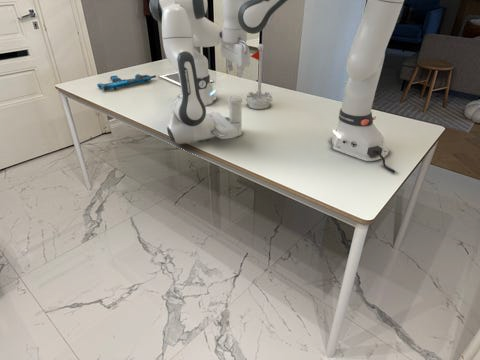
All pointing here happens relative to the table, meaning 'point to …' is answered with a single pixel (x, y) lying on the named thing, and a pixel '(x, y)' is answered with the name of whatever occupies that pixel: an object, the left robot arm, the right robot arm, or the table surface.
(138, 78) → the submachine gun
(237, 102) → the lid
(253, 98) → the flag stand
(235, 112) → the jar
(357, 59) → the right robot arm
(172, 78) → the tablet
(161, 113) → the table surface
